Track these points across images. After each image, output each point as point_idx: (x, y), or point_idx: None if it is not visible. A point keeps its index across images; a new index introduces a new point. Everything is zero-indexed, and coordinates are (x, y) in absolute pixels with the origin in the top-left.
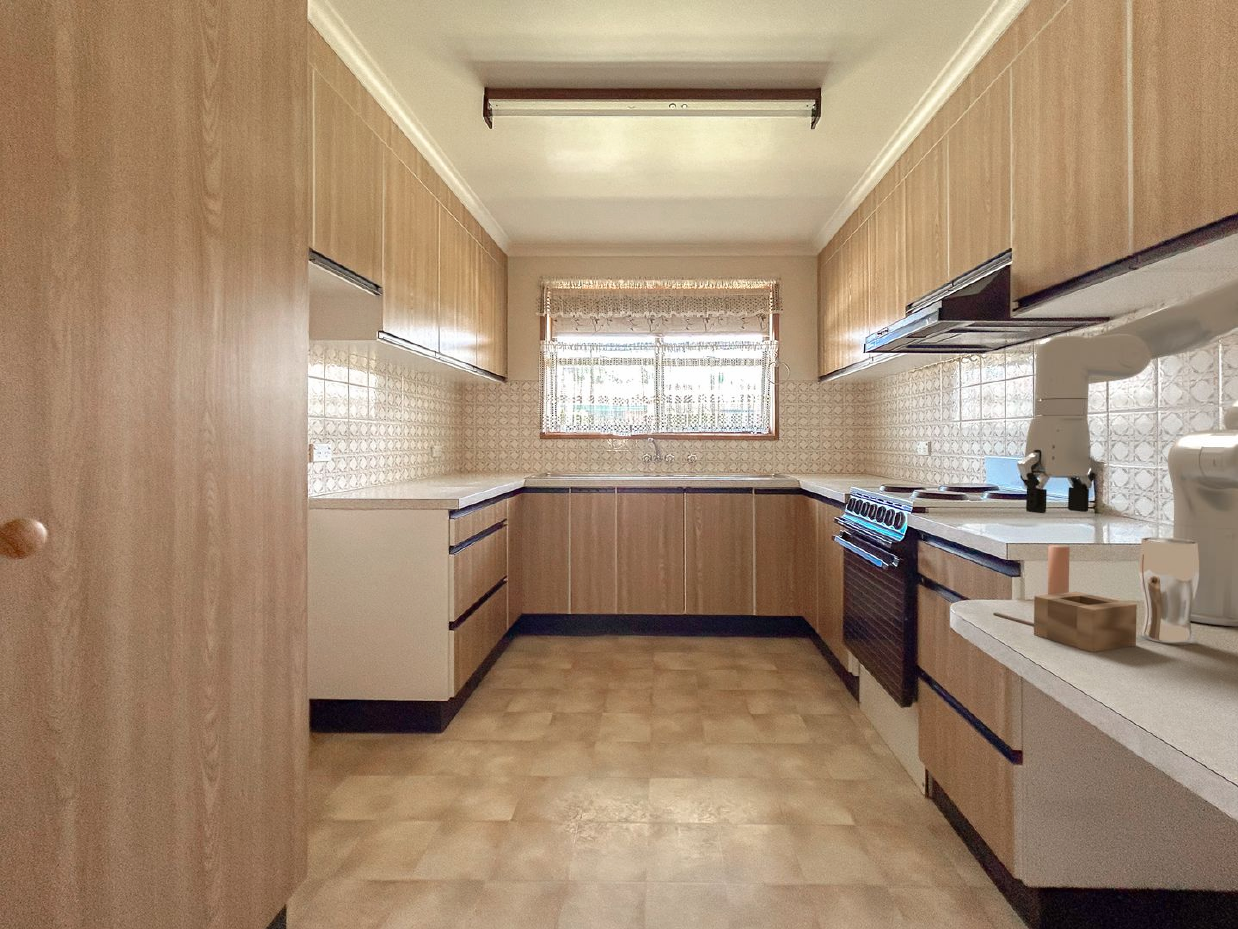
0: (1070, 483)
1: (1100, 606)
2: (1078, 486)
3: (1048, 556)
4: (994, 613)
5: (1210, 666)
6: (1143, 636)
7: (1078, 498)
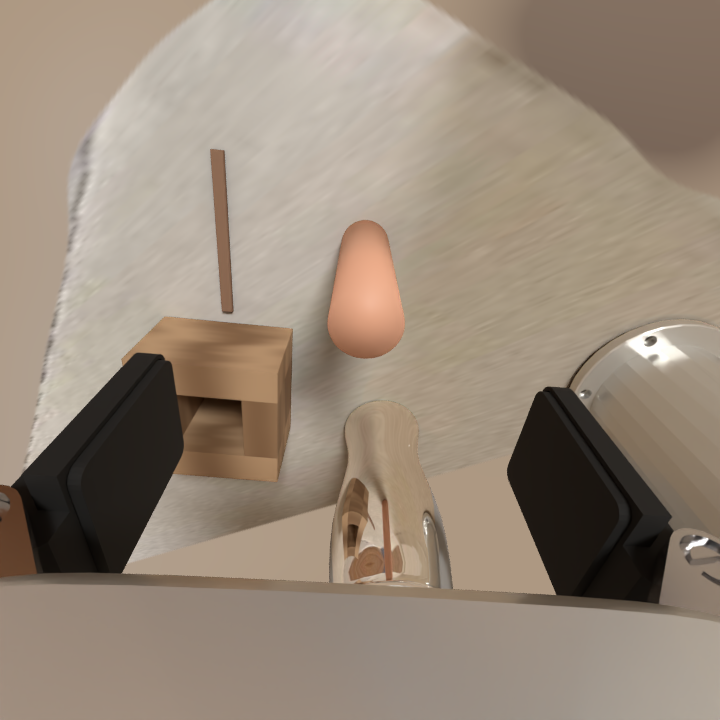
0: (662, 565)
1: (189, 463)
2: (612, 590)
3: (340, 282)
4: (211, 153)
5: (287, 504)
6: (352, 412)
7: (551, 504)
